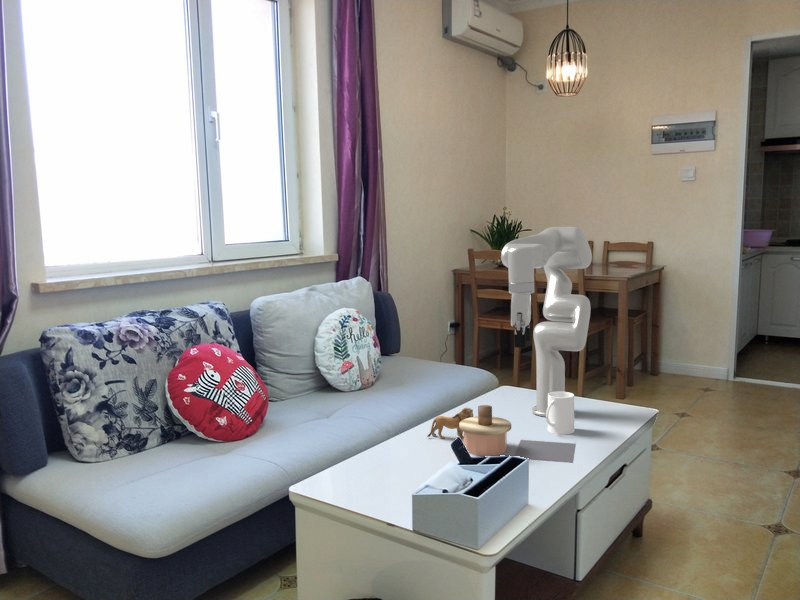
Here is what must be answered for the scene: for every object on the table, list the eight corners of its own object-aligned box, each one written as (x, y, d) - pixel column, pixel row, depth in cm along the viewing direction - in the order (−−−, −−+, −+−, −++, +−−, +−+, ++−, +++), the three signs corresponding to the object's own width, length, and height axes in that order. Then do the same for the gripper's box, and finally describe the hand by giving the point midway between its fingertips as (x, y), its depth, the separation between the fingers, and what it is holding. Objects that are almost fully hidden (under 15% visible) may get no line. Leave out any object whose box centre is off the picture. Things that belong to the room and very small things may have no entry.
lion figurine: (471, 432, 213) (471, 405, 212) (475, 438, 208) (475, 409, 207) (425, 435, 211) (425, 407, 210) (428, 441, 206) (428, 412, 205)
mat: (520, 441, 203) (520, 439, 203) (575, 445, 198) (575, 443, 198) (513, 460, 188) (513, 457, 188) (572, 464, 183) (572, 462, 183)
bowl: (469, 442, 204) (468, 419, 203) (508, 445, 200) (508, 422, 199) (460, 455, 192) (460, 432, 191) (502, 459, 189) (502, 434, 188)
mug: (555, 440, 203) (555, 401, 202) (534, 433, 210) (534, 396, 209) (580, 432, 211) (580, 394, 209) (559, 425, 217) (559, 389, 216)
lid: (465, 418, 205) (464, 398, 204) (514, 421, 200) (514, 401, 200) (454, 433, 191) (453, 412, 190) (507, 436, 186) (507, 415, 185)
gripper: (513, 284, 210) (514, 337, 213) (504, 291, 194) (505, 349, 196) (537, 283, 208) (538, 338, 210) (530, 291, 192) (531, 350, 194)
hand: (522, 343), depth 203 cm, fingers open, 9 cm apart
